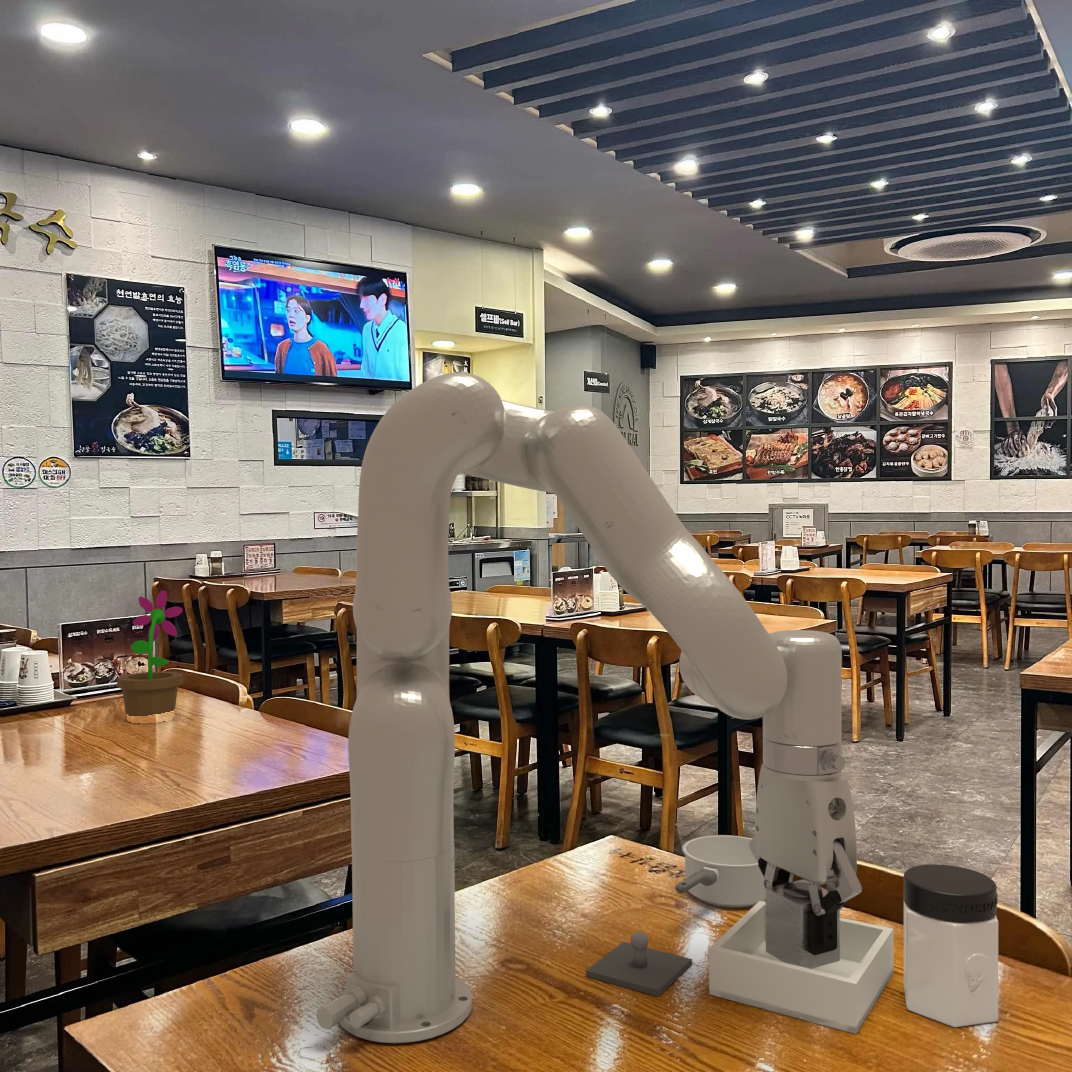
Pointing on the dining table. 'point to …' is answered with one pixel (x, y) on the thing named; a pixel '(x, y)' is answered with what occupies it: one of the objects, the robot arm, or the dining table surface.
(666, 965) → the ball stud
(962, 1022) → the jar
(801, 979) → the bin
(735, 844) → the saucepan
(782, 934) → the metal block
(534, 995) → the dining table surface
